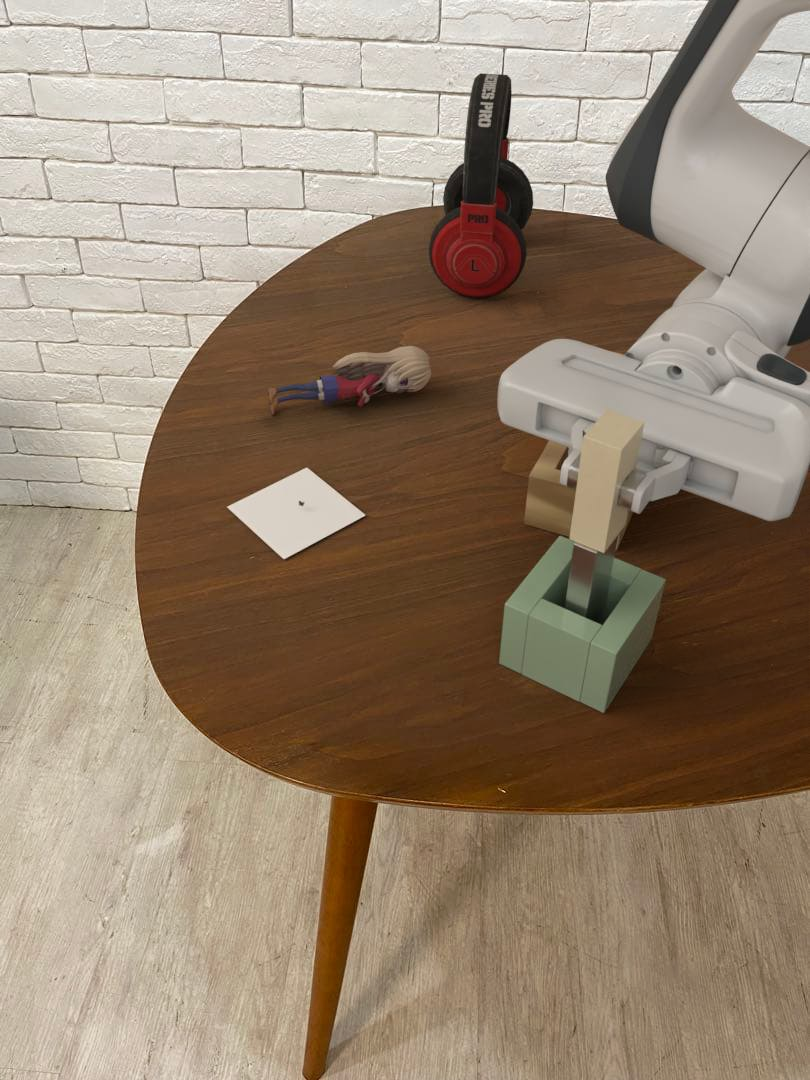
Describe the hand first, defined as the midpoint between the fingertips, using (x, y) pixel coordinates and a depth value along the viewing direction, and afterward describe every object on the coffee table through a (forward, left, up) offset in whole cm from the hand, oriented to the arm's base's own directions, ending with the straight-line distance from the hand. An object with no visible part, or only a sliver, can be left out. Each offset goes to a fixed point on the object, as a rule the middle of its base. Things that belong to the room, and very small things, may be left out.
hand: (599, 490), depth 63 cm
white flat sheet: (+25, -6, -15) cm, 30 cm away
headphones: (+26, -50, -16) cm, 58 cm away
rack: (+4, -22, -15) cm, 27 cm away
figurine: (+28, -22, -16) cm, 39 cm away
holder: (0, -1, -15) cm, 15 cm away
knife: (0, -1, -12) cm, 12 cm away
